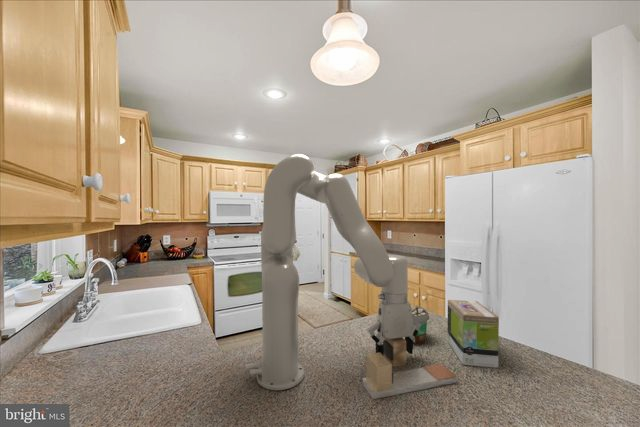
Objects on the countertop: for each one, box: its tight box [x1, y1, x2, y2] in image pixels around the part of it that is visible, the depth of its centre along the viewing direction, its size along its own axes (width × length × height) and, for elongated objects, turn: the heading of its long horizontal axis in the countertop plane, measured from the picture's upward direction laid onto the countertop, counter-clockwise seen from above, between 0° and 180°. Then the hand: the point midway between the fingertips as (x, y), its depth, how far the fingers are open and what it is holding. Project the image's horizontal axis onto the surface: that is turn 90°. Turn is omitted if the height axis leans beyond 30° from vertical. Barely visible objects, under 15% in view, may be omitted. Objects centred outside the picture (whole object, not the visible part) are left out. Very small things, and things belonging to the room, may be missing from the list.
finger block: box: [382, 337, 407, 368], centre depth 81 cm, size 5×6×7 cm
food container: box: [412, 305, 430, 346], centre depth 94 cm, size 12×6×10 cm, turn 143°
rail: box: [361, 352, 458, 400], centre depth 70 cm, size 24×6×8 cm, turn 105°
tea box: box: [446, 299, 500, 369], centre depth 85 cm, size 15×10×15 cm, turn 171°
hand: (394, 354), depth 81 cm, fingers open, 9 cm apart
